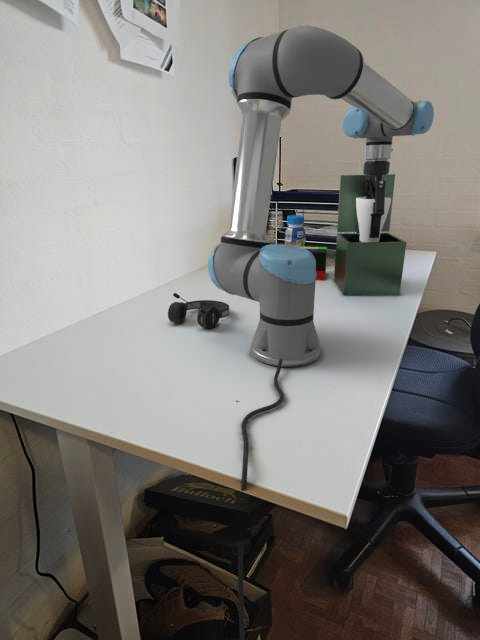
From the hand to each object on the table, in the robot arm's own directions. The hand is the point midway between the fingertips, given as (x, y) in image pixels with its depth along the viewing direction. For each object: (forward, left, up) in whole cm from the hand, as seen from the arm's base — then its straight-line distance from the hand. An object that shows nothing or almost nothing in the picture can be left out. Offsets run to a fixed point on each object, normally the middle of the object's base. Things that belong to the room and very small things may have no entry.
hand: (369, 234), depth 129 cm
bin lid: (+9, 0, +9) cm, 12 cm away
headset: (-30, +52, -18) cm, 63 cm away
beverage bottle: (+32, +21, -18) cm, 42 cm away
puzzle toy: (+15, +16, -18) cm, 28 cm away
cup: (0, 0, -2) cm, 2 cm away
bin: (0, 0, -18) cm, 18 cm away
